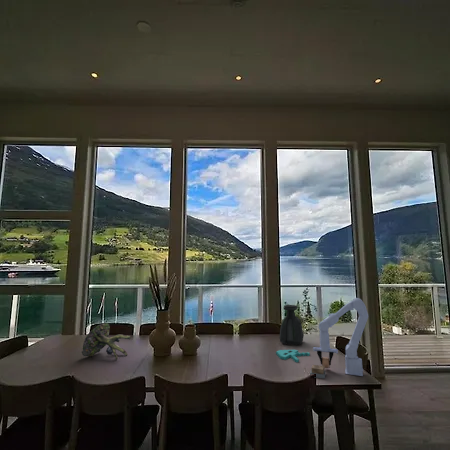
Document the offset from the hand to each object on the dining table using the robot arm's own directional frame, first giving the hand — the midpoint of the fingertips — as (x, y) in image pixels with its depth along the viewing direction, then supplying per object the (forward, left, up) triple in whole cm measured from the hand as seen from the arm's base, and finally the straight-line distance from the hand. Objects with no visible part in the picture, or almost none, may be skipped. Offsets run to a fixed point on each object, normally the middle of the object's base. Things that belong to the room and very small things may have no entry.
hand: (325, 364), depth 180 cm
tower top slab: (+4, +11, -1) cm, 12 cm away
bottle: (+30, -56, -3) cm, 64 cm away
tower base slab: (+4, +11, -4) cm, 12 cm away
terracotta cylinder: (0, 0, -1) cm, 1 cm away
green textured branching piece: (+147, +26, -4) cm, 149 cm away
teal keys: (+25, -20, -4) cm, 32 cm away
